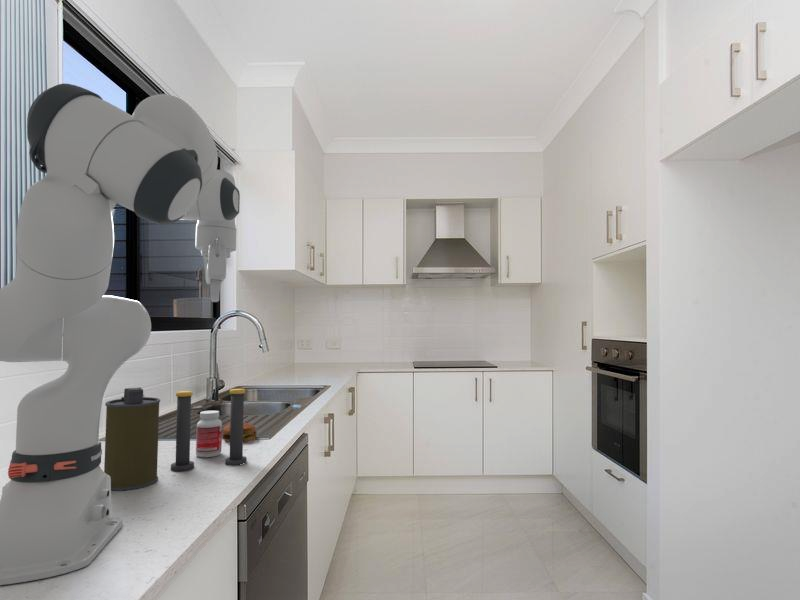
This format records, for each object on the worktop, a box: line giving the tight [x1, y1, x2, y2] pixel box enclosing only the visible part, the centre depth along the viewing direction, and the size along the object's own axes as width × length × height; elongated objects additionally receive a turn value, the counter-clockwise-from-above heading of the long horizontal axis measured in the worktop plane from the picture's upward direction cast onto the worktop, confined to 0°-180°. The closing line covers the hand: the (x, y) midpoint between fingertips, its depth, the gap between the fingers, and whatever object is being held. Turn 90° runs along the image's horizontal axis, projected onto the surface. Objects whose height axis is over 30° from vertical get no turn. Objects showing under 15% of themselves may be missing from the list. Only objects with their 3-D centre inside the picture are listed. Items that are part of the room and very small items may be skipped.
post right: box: [224, 388, 248, 466], centre depth 120 cm, size 5×5×18 cm
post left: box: [170, 390, 195, 472], centre depth 115 cm, size 5×5×18 cm
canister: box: [103, 387, 161, 492], centre depth 105 cm, size 11×10×20 cm
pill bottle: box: [195, 410, 223, 458], centre depth 127 cm, size 6×6×11 cm
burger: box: [222, 422, 257, 443], centre depth 143 cm, size 10×9×5 cm
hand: (214, 301), depth 113 cm, fingers closed
